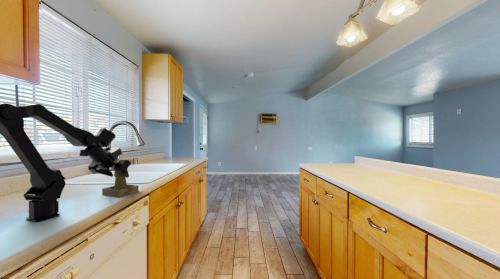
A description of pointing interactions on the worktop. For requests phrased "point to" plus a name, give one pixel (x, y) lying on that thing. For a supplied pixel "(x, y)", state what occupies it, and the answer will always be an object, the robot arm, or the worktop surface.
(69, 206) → the worktop surface
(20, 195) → the worktop surface
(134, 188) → the slot holder
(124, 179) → the cork
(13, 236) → the worktop surface
